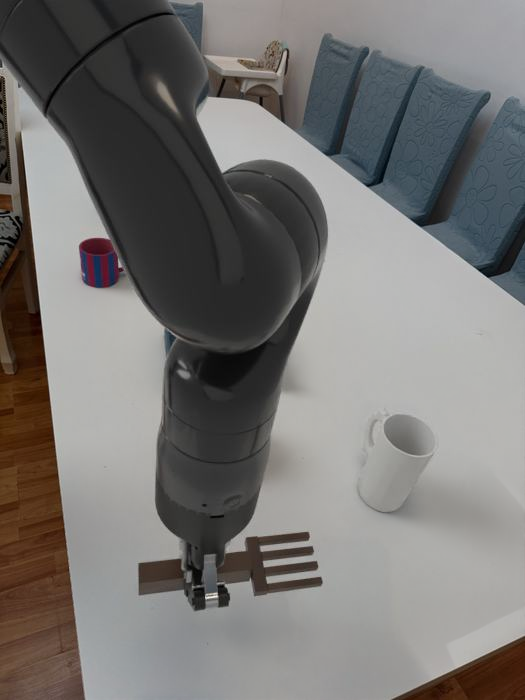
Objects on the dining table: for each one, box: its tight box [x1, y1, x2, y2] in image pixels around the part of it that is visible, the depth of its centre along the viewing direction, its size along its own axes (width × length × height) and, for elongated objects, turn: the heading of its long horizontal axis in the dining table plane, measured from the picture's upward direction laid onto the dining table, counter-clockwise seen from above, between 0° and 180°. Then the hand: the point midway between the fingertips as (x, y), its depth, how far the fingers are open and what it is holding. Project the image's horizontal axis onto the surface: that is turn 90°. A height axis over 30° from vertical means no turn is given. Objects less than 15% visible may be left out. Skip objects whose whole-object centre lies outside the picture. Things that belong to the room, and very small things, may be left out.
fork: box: [137, 531, 324, 597], centre depth 46 cm, size 16×5×2 cm, turn 101°
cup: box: [78, 237, 124, 288], centre depth 93 cm, size 7×10×7 cm
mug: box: [357, 406, 439, 513], centre depth 64 cm, size 10×7×12 cm, turn 23°
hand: (194, 577), depth 45 cm, fingers closed on fork, 2 cm apart
